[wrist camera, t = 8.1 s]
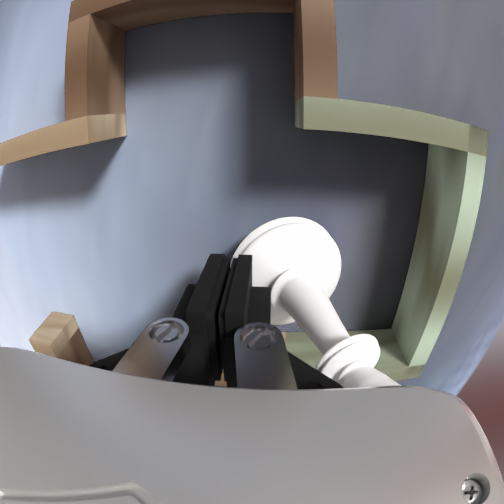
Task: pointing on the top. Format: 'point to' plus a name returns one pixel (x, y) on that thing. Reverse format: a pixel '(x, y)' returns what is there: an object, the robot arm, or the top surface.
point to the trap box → (306, 117)
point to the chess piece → (311, 296)
